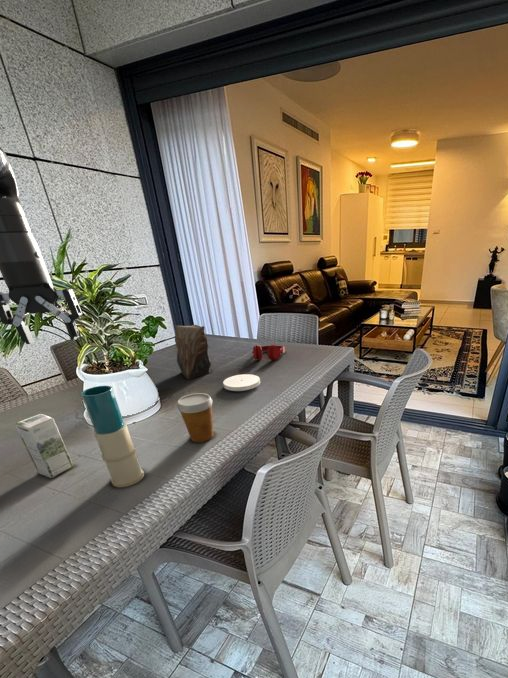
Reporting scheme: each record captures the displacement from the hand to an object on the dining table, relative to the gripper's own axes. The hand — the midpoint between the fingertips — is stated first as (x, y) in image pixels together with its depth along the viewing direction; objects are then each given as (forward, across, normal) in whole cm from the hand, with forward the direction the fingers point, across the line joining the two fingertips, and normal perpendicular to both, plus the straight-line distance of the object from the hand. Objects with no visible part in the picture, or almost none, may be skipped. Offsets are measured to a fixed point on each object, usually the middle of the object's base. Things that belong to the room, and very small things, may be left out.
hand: (52, 341), depth 77 cm
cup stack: (+32, -8, +10) cm, 35 cm away
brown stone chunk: (+32, -20, -66) cm, 76 cm away
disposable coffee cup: (+32, -25, -6) cm, 42 cm away
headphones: (+32, -55, -80) cm, 103 cm away
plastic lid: (+32, -40, -43) cm, 67 cm away
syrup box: (+32, +10, 0) cm, 34 cm away
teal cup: (+18, -8, +10) cm, 22 cm away
